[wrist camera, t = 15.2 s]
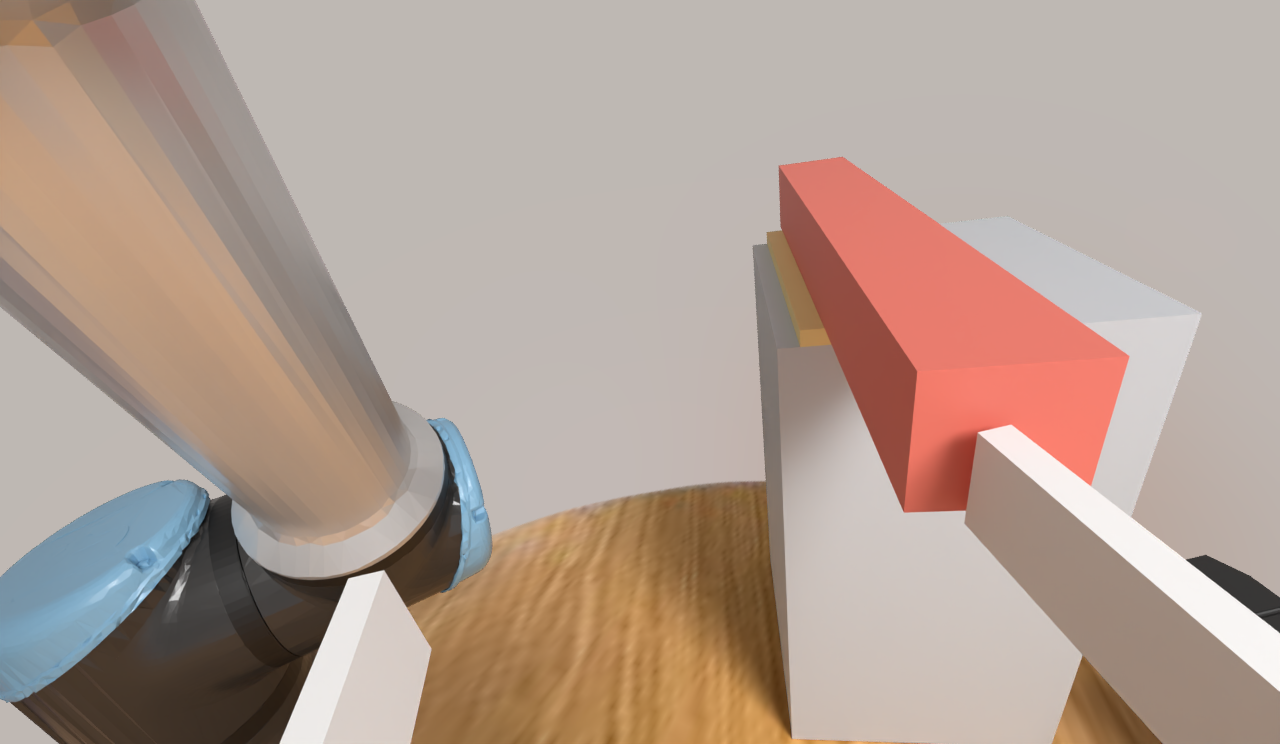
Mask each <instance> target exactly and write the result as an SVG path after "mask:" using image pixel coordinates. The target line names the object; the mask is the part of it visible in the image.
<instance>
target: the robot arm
mask: <svg viewBox="0 0 1280 744" xmlns="http://www.w3.org/2000/svg"><path fill="white" fill-rule="evenodd" d="M0 307H1V308H2V309H4V310H5V311H6V312H7V313H8V314H10V315H11V316H12V317H13V318H14V319H16V320H17V321H18V322H19V323H21V324H22V325H23V326H24V327H25V328H27V329H28V330H29V331H30V332H31V333H32V334H34V335H35V336H36V337H37V338H38V339H40V340H41V341H42V342H43V343H45V344H46V345H47V346H48V347H49V348H51V349H52V350H53V351H54V352H55V353H57V354H58V355H59V356H60V357H61V358H63V359H64V360H65V361H66V362H68V363H69V364H70V365H71V366H72V367H74V368H75V369H76V370H77V371H78V372H80V373H81V374H82V375H83V376H84V377H86V378H87V379H88V380H89V381H90V382H92V383H93V384H94V385H95V386H96V387H98V388H99V389H100V390H101V391H102V392H104V393H105V394H106V395H107V396H108V397H110V398H111V399H112V400H113V401H115V402H116V403H117V404H118V405H119V406H120V407H122V408H123V409H124V410H125V411H127V412H128V413H129V414H130V415H131V416H133V417H134V418H135V419H136V420H137V421H139V422H140V423H141V424H142V425H143V426H145V427H146V428H147V429H148V430H149V431H151V432H152V433H153V434H154V435H155V436H157V437H158V438H159V439H160V440H161V441H163V442H164V443H165V444H166V445H168V446H169V447H170V448H171V449H172V450H174V451H175V452H176V453H177V454H178V455H180V456H181V457H182V458H183V459H185V460H186V461H187V462H188V463H189V464H190V465H192V466H193V467H194V468H195V469H196V470H198V471H199V472H200V473H202V475H204V476H205V477H206V478H207V479H208V480H210V481H211V482H212V483H213V484H215V485H216V486H217V487H218V488H219V489H221V490H222V491H223V492H224V493H226V494H227V495H224V496H222V497H219V498H216V499H212V500H210V498H209V494H208V493H207V491H206V490H205V489H204V488H201V487H199V486H198V485H196V484H195V483H193V482H190V481H188V480H176V481H161V482H157V483H153V484H150V485H147V486H144V487H141V488H138V489H136V490H133V491H131V492H128V493H126V494H124V495H121V496H119V497H117V498H115V499H113V500H111V501H109V502H107V503H105V504H103V505H101V506H99V507H97V508H95V509H93V510H92V511H90V512H88V513H86V514H84V515H83V516H81V517H79V518H78V519H76V520H74V521H73V522H71V523H70V524H68V525H67V526H65V527H63V528H62V529H60V530H59V531H57V532H56V533H54V534H53V535H51V536H50V537H49V538H47V539H46V540H44V541H43V542H42V543H40V544H39V545H38V546H36V547H35V548H33V549H32V550H31V551H30V552H29V553H27V554H26V555H24V556H23V557H22V558H21V559H20V560H19V561H17V562H16V563H15V564H14V565H13V566H12V567H11V568H9V569H8V570H7V571H6V572H5V573H4V574H3V575H2V576H1V577H0V699H2V700H4V701H6V702H10V703H11V704H13V705H14V706H15V707H16V708H18V710H20V711H21V712H22V713H23V714H24V715H26V716H27V717H28V718H29V719H30V720H32V721H33V722H34V723H35V724H36V725H38V726H39V727H40V728H41V729H42V730H43V731H45V732H46V733H47V734H48V735H50V736H51V737H52V738H53V739H54V740H56V742H58V743H59V744H411V740H412V735H413V731H414V726H415V721H416V717H417V712H418V708H419V703H420V699H421V694H422V690H423V685H424V681H425V676H426V672H427V667H428V663H429V658H430V654H431V647H430V646H429V644H428V642H427V641H426V639H425V637H424V636H423V634H422V632H421V631H420V629H419V627H418V626H417V624H416V622H415V621H414V619H413V617H412V616H411V614H410V612H409V611H408V609H407V607H409V606H411V605H413V604H415V603H417V602H420V601H422V600H424V599H426V598H428V597H430V596H432V595H435V594H437V593H439V592H441V593H443V592H446V591H449V590H452V589H453V588H455V587H456V586H457V585H458V583H459V582H461V581H463V580H464V579H466V578H468V577H470V576H472V575H474V574H476V573H478V572H479V571H481V570H482V569H483V568H484V567H485V566H486V565H487V563H488V561H489V559H490V557H491V553H492V535H491V528H490V523H489V518H488V515H487V512H486V509H485V508H484V500H483V494H482V490H481V487H480V483H479V480H478V477H477V474H476V471H475V468H474V465H473V462H472V459H471V457H470V454H469V452H468V449H467V447H466V445H465V442H464V440H463V438H462V436H461V434H460V432H459V430H458V429H457V427H456V426H455V425H454V424H453V422H451V421H449V420H447V419H445V418H439V419H435V420H431V419H428V420H425V418H423V417H422V416H421V415H420V414H418V413H417V412H416V411H414V410H412V409H410V408H409V407H407V406H404V405H402V404H399V403H397V402H393V401H391V399H390V397H389V395H388V393H387V390H386V388H385V386H384V384H383V382H382V380H381V378H380V376H379V374H378V372H377V370H376V368H375V366H374V364H373V362H372V360H371V358H370V356H369V354H368V352H367V350H366V348H365V346H364V344H363V341H362V339H361V338H360V335H359V333H358V332H357V330H356V327H355V326H354V323H353V321H352V319H351V317H350V315H349V313H348V311H347V309H346V307H345V305H344V303H343V301H342V299H341V297H340V295H339V293H338V291H337V289H336V286H335V285H334V283H333V280H332V279H331V276H330V274H329V272H328V270H327V268H326V267H325V264H324V262H323V260H322V258H321V256H320V254H319V252H318V250H317V248H316V246H315V244H314V242H313V240H312V238H311V236H310V234H309V231H308V229H307V227H306V226H305V223H304V221H303V219H302V217H301V215H300V213H299V211H298V209H297V207H296V205H295V203H294V201H293V199H292V197H291V195H290V193H289V191H288V189H287V187H286V185H285V183H284V181H283V179H282V177H281V175H280V172H279V170H278V168H277V166H276V164H275V162H274V160H273V158H272V156H271V154H270V152H269V150H268V148H267V146H266V144H265V142H264V140H263V138H262V136H261V134H260V132H259V130H258V128H257V126H256V124H255V122H254V120H253V117H252V115H251V113H250V111H249V109H248V108H247V105H246V103H245V101H244V99H243V97H242V95H241V93H240V91H239V89H238V87H237V85H236V83H235V81H234V79H233V77H232V75H231V73H230V71H229V69H228V67H227V65H226V62H225V60H224V58H223V56H222V54H221V52H220V50H219V48H218V46H217V44H216V42H215V40H214V38H213V36H212V34H211V32H210V30H209V28H208V26H207V24H206V22H205V20H204V18H203V16H202V14H201V12H200V9H199V8H198V5H197V4H196V1H195V0H0ZM964 524H965V525H966V526H967V527H968V528H969V529H970V530H971V531H972V533H973V534H974V535H975V536H976V537H977V538H978V539H979V540H980V541H981V543H982V544H983V545H984V546H985V547H986V548H987V549H988V550H989V551H990V553H991V554H992V555H993V556H994V557H995V558H996V559H997V560H998V561H999V563H1000V564H1001V565H1002V566H1003V567H1004V568H1005V569H1006V570H1007V571H1008V573H1009V574H1010V575H1011V576H1012V577H1013V578H1014V579H1015V580H1016V581H1017V583H1018V584H1019V585H1020V586H1021V587H1022V588H1023V589H1024V590H1025V591H1026V593H1027V594H1028V595H1029V596H1030V597H1031V598H1032V599H1033V600H1034V601H1035V603H1036V604H1037V605H1038V606H1039V607H1040V608H1041V609H1042V610H1043V611H1044V613H1045V614H1046V615H1047V616H1048V617H1049V618H1050V619H1051V620H1052V621H1053V623H1054V624H1055V625H1056V626H1057V627H1058V628H1059V629H1060V630H1061V631H1062V633H1063V634H1064V635H1065V636H1066V637H1067V638H1068V639H1069V640H1070V641H1071V643H1072V644H1073V645H1074V646H1075V647H1076V648H1077V649H1078V650H1079V651H1080V653H1081V654H1082V655H1083V656H1084V657H1085V658H1086V659H1087V660H1088V661H1089V663H1090V664H1091V665H1092V666H1093V667H1094V668H1095V669H1096V670H1097V671H1098V673H1099V674H1100V675H1101V676H1102V677H1103V678H1104V679H1105V680H1106V681H1107V683H1108V684H1109V685H1110V686H1111V687H1112V688H1113V689H1114V690H1115V691H1116V693H1117V694H1118V695H1119V696H1120V697H1121V698H1122V699H1123V700H1124V701H1125V703H1126V704H1127V705H1128V706H1129V707H1130V708H1131V709H1132V710H1133V711H1134V713H1135V714H1136V715H1137V716H1138V717H1139V718H1140V719H1141V720H1142V721H1143V723H1144V724H1145V725H1146V726H1147V727H1148V728H1149V729H1150V730H1151V731H1152V733H1153V734H1154V735H1155V736H1156V737H1157V738H1158V739H1159V740H1160V741H1161V743H1162V744H1280V597H1278V596H1277V595H1275V594H1274V593H1273V592H1271V591H1270V590H1269V589H1267V588H1266V587H1264V586H1263V585H1262V584H1260V583H1259V582H1258V581H1256V580H1255V579H1253V578H1252V577H1251V576H1249V575H1247V574H1245V573H1243V572H1241V571H1238V570H1236V569H1234V568H1232V567H1230V566H1228V565H1226V564H1224V563H1221V562H1219V561H1218V560H1215V559H1213V558H1211V557H1209V556H1207V555H1204V556H1199V557H1195V558H1192V559H1187V560H1185V559H1184V558H1182V557H1181V556H1180V555H1179V554H1177V553H1176V552H1175V551H1173V550H1172V549H1171V548H1169V547H1168V546H1167V545H1166V544H1164V543H1163V542H1162V541H1161V540H1159V539H1158V538H1157V537H1155V536H1154V535H1153V534H1151V533H1150V532H1149V531H1147V530H1146V529H1145V528H1144V527H1143V526H1141V525H1140V524H1139V523H1137V522H1136V521H1135V520H1134V519H1132V518H1131V517H1130V516H1128V515H1127V514H1126V513H1125V512H1123V511H1122V510H1121V509H1119V508H1118V507H1117V506H1116V505H1114V504H1113V503H1112V502H1110V501H1109V500H1108V499H1107V498H1105V497H1104V496H1103V495H1101V494H1100V493H1099V492H1098V491H1096V490H1095V489H1094V488H1092V487H1091V486H1090V485H1089V484H1087V483H1086V482H1085V481H1083V480H1082V479H1081V478H1080V477H1078V476H1077V475H1076V474H1074V473H1073V472H1072V471H1070V470H1069V469H1068V468H1067V467H1065V466H1064V465H1063V464H1061V463H1060V462H1059V461H1058V460H1056V459H1055V458H1054V457H1052V456H1051V455H1050V454H1049V453H1047V452H1046V451H1045V450H1043V449H1042V448H1041V447H1040V446H1038V445H1037V444H1036V443H1034V442H1033V441H1032V440H1031V439H1029V438H1028V437H1027V436H1025V435H1024V434H1023V433H1022V432H1020V431H1019V430H1018V429H1016V428H1015V427H1014V426H1013V425H1007V426H1003V427H999V428H994V429H990V430H986V431H982V432H978V434H977V440H976V447H975V454H974V461H973V467H972V474H971V481H970V488H969V495H968V501H967V508H966V515H965V522H964Z"/></svg>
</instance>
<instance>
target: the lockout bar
mask: <svg viewBox="0 0 1280 744" xmlns="http://www.w3.org/2000/svg"><path fill="white" fill-rule="evenodd" d="M779 187H780V221H781V228H782V231H783V233H784V235H785V238H786V240H787V242H788V245H789V247H790V249H791V252H792V254H793V256H794V259H795V261H796V263H797V266H798V268H799V270H800V273H801V275H802V277H803V280H804V282H805V284H806V287H807V289H808V291H809V294H810V296H811V298H812V301H813V303H814V305H815V308H816V310H817V312H818V314H819V317H820V319H821V321H822V324H823V326H824V328H825V331H826V333H827V335H828V338H829V340H830V342H831V345H832V347H833V349H834V352H835V354H836V356H837V359H838V361H839V363H840V366H841V368H842V370H843V373H844V375H845V377H846V380H847V382H848V384H849V387H850V389H851V391H852V393H853V396H854V398H855V400H856V403H857V405H858V407H859V410H860V412H861V414H862V417H863V419H864V421H865V424H866V426H867V428H868V431H869V433H870V435H871V438H872V440H873V442H874V445H875V447H876V449H877V452H878V454H879V456H880V459H881V461H882V463H883V466H884V468H885V470H886V473H887V475H888V477H889V479H890V482H891V484H892V486H893V489H894V491H895V493H896V496H897V498H898V500H899V503H900V505H901V507H902V510H903V512H904V513H909V512H941V511H966V508H967V501H968V495H969V488H970V481H971V474H972V467H973V461H974V454H975V447H976V440H977V434H978V432H982V431H986V430H990V429H994V428H999V427H1003V426H1007V425H1013V426H1014V427H1015V428H1016V429H1018V430H1019V431H1020V432H1022V433H1023V434H1024V435H1025V436H1027V437H1028V438H1029V439H1031V440H1032V441H1033V442H1034V443H1036V444H1037V445H1038V446H1040V447H1041V448H1042V449H1043V450H1045V451H1046V452H1047V453H1049V454H1050V455H1051V456H1052V457H1054V458H1055V459H1056V460H1058V461H1059V462H1060V463H1061V464H1063V465H1064V466H1065V467H1067V468H1068V469H1069V470H1070V471H1072V472H1073V473H1074V474H1076V475H1077V476H1078V477H1080V478H1081V479H1082V480H1083V481H1085V482H1086V483H1087V484H1089V485H1090V486H1091V485H1092V481H1093V478H1094V475H1095V471H1096V468H1097V464H1098V461H1099V458H1100V454H1101V451H1102V448H1103V444H1104V441H1105V438H1106V434H1107V431H1108V427H1109V424H1110V421H1111V417H1112V414H1113V411H1114V407H1115V404H1116V401H1117V397H1118V394H1119V390H1120V387H1121V384H1122V380H1123V377H1124V374H1125V370H1126V367H1127V364H1128V360H1129V357H1130V356H1129V355H1127V354H1126V353H1125V352H1123V351H1122V350H1120V349H1119V348H1117V347H1116V346H1114V345H1113V344H1112V343H1110V342H1109V341H1107V340H1106V339H1104V338H1103V337H1101V336H1100V335H1099V334H1097V333H1096V332H1094V331H1093V330H1091V329H1090V328H1088V327H1087V326H1086V325H1084V324H1083V323H1081V322H1080V321H1078V320H1077V319H1076V318H1074V317H1073V316H1071V315H1070V314H1068V313H1067V312H1065V311H1064V310H1063V309H1061V308H1060V307H1058V306H1057V305H1055V304H1054V303H1052V302H1051V301H1050V300H1048V299H1047V298H1045V297H1044V296H1042V295H1041V294H1039V293H1038V292H1037V291H1035V290H1034V289H1032V288H1031V287H1029V286H1028V285H1026V284H1025V283H1024V282H1022V281H1021V280H1019V279H1018V278H1016V277H1015V276H1014V275H1012V274H1011V273H1009V272H1008V271H1006V270H1005V269H1003V268H1002V267H1001V266H999V265H998V264H996V263H995V262H993V261H992V260H990V259H989V258H988V257H986V256H985V255H983V254H982V253H980V252H979V251H977V250H976V249H975V248H973V247H972V246H970V245H969V244H967V243H966V242H965V241H963V240H962V239H960V238H959V237H957V236H956V235H954V234H953V233H952V232H950V231H949V230H947V229H946V228H944V227H943V226H941V225H940V224H938V223H937V222H936V221H934V220H933V219H931V218H930V217H928V216H927V215H926V214H924V213H923V212H921V211H920V210H918V209H917V208H915V207H914V206H912V205H911V204H910V203H908V202H907V201H905V200H904V199H902V198H901V197H900V196H898V195H897V194H895V193H894V192H892V191H891V190H890V189H888V188H887V187H885V186H884V185H882V184H881V183H879V182H878V181H877V180H875V179H874V178H872V177H871V176H869V175H868V174H866V173H865V172H864V171H862V170H861V169H859V168H857V167H856V166H855V165H853V164H852V163H851V162H849V161H848V160H846V159H845V158H843V157H838V158H831V159H824V160H817V161H810V162H802V163H795V164H788V165H780V166H779Z"/></svg>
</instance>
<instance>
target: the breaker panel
mask: <svg viewBox="0 0 1280 744" xmlns="http://www.w3.org/2000/svg"><path fill="white" fill-rule="evenodd" d="M940 225H941V226H943V227H944V228H946V229H947V230H949V231H950V232H952V233H953V234H954V235H956V236H957V237H959V238H960V239H962V240H963V241H965V242H966V243H967V244H969V245H970V246H972V247H973V248H975V249H976V250H977V251H979V252H980V253H982V254H983V255H985V256H986V257H988V258H989V259H990V260H992V261H993V262H995V263H996V264H998V265H999V266H1001V267H1002V268H1003V269H1005V270H1006V271H1008V272H1009V273H1011V274H1012V275H1014V276H1015V277H1016V278H1018V279H1019V280H1021V281H1022V282H1024V283H1025V284H1026V285H1028V286H1029V287H1031V288H1032V289H1034V290H1035V291H1037V292H1038V293H1039V294H1041V295H1042V296H1044V297H1045V298H1047V299H1048V300H1050V301H1051V302H1052V303H1054V304H1055V305H1057V306H1058V307H1060V308H1061V309H1063V310H1064V311H1065V312H1067V313H1068V314H1070V315H1071V316H1073V317H1074V318H1076V319H1077V320H1078V321H1080V322H1081V323H1083V324H1084V325H1086V326H1087V327H1088V328H1090V329H1091V330H1093V331H1094V332H1096V333H1097V334H1099V335H1100V336H1101V337H1103V338H1104V339H1106V340H1107V341H1109V342H1110V343H1112V344H1113V345H1114V346H1116V347H1117V348H1119V349H1120V350H1122V351H1123V352H1125V353H1126V354H1127V355H1129V356H1130V357H1129V360H1128V364H1127V367H1126V370H1125V374H1124V377H1123V380H1122V384H1121V387H1120V390H1119V394H1118V397H1117V401H1116V404H1115V407H1114V411H1113V414H1112V417H1111V421H1110V424H1109V427H1108V431H1107V434H1106V438H1105V441H1104V444H1103V448H1102V451H1101V454H1100V458H1099V461H1098V464H1097V468H1096V471H1095V475H1094V478H1093V481H1092V485H1091V487H1092V488H1094V489H1095V490H1096V491H1098V492H1099V493H1100V494H1101V495H1103V496H1104V497H1105V498H1107V499H1108V500H1109V501H1110V502H1112V503H1113V504H1114V505H1116V506H1117V507H1118V508H1119V509H1121V510H1122V511H1123V512H1125V513H1126V514H1127V515H1128V516H1130V517H1131V516H1132V513H1133V509H1134V507H1135V504H1136V502H1137V499H1138V496H1139V493H1140V490H1141V487H1142V484H1143V482H1144V479H1145V476H1146V473H1147V470H1148V467H1149V464H1150V462H1151V459H1152V456H1153V453H1154V450H1155V447H1156V444H1157V442H1158V439H1159V436H1160V433H1161V430H1162V427H1163V424H1164V422H1165V418H1166V416H1167V413H1168V410H1169V407H1170V404H1171V401H1172V398H1173V396H1174V393H1175V390H1176V387H1177V384H1178V382H1179V378H1180V376H1181V373H1182V370H1183V367H1184V364H1185V362H1186V359H1187V356H1188V353H1189V350H1190V347H1191V344H1192V342H1193V339H1194V336H1195V333H1196V330H1197V327H1198V324H1199V322H1200V319H1201V316H1202V313H1200V312H1198V311H1196V310H1194V309H1192V308H1190V307H1188V306H1186V305H1184V304H1182V303H1180V302H1178V301H1176V300H1174V299H1172V298H1170V297H1168V296H1166V295H1164V294H1162V293H1160V292H1158V291H1156V290H1154V289H1152V288H1150V287H1149V286H1147V285H1145V284H1143V283H1141V282H1138V281H1136V280H1134V279H1133V278H1131V277H1128V276H1126V275H1124V274H1122V273H1121V272H1119V271H1117V270H1115V269H1112V268H1110V267H1109V266H1106V265H1105V264H1102V263H1101V262H1099V261H1096V260H1094V259H1093V258H1090V257H1088V256H1087V255H1084V254H1082V253H1081V252H1079V251H1077V250H1075V249H1072V248H1070V247H1069V246H1066V245H1065V244H1063V243H1061V242H1059V241H1057V240H1055V239H1052V238H1050V237H1049V236H1046V235H1045V234H1043V233H1041V232H1038V231H1037V230H1035V229H1033V228H1031V227H1029V226H1026V225H1025V224H1022V223H1021V222H1018V221H1017V220H1015V219H1013V218H1010V217H1009V216H1004V217H997V218H987V219H978V220H970V221H961V222H953V223H944V224H940ZM753 258H754V276H755V294H756V310H757V311H756V312H757V330H758V348H759V366H760V384H761V401H762V419H763V437H764V453H765V472H766V491H767V509H768V526H769V544H770V560H771V568H772V577H773V585H774V593H775V601H776V610H777V618H778V626H779V635H780V643H781V651H782V659H783V668H784V676H785V684H786V692H787V701H788V709H789V717H790V725H791V734H792V739H811V740H840V741H870V742H900V743H930V744H1052V741H1053V739H1054V736H1055V733H1056V730H1057V727H1058V724H1059V721H1060V719H1061V716H1062V713H1063V710H1064V707H1065V704H1066V701H1067V699H1068V696H1069V693H1070V690H1071V687H1072V684H1073V681H1074V679H1075V676H1076V673H1077V670H1078V667H1079V664H1080V661H1081V659H1082V656H1083V655H1082V654H1081V653H1080V651H1079V650H1078V649H1077V648H1076V647H1075V646H1074V645H1073V644H1072V643H1071V641H1070V640H1069V639H1068V638H1067V637H1066V636H1065V635H1064V634H1063V633H1062V631H1061V630H1060V629H1059V628H1058V627H1057V626H1056V625H1055V624H1054V623H1053V621H1052V620H1051V619H1050V618H1049V617H1048V616H1047V615H1046V614H1045V613H1044V611H1043V610H1042V609H1041V608H1040V607H1039V606H1038V605H1037V604H1036V603H1035V601H1034V600H1033V599H1032V598H1031V597H1030V596H1029V595H1028V594H1027V593H1026V591H1025V590H1024V589H1023V588H1022V587H1021V586H1020V585H1019V584H1018V583H1017V581H1016V580H1015V579H1014V578H1013V577H1012V576H1011V575H1010V574H1009V573H1008V571H1007V570H1006V569H1005V568H1004V567H1003V566H1002V565H1001V564H1000V563H999V561H998V560H997V559H996V558H995V557H994V556H993V555H992V554H991V553H990V551H989V550H988V549H987V548H986V547H985V546H984V545H983V544H982V543H981V541H980V540H979V539H978V538H977V537H976V536H975V535H974V534H973V533H972V531H971V530H970V529H969V528H968V527H967V526H966V525H965V524H964V522H965V515H966V511H941V512H909V513H904V512H903V510H902V507H901V505H900V503H899V500H898V498H897V496H896V493H895V491H894V489H893V486H892V484H891V482H890V479H889V477H888V475H887V473H886V470H885V468H884V466H883V463H882V461H881V459H880V456H879V454H878V452H877V449H876V447H875V445H874V442H873V440H872V438H871V435H870V433H869V431H868V428H867V426H866V424H865V421H864V419H863V417H862V414H861V412H860V410H859V407H858V405H857V403H856V400H855V398H854V396H853V393H852V391H851V389H850V387H849V384H848V382H847V380H846V377H845V375H844V373H843V370H842V368H841V366H840V363H839V361H838V359H837V356H836V354H835V352H834V349H833V347H832V345H821V346H809V347H800V345H799V342H798V339H797V336H796V332H795V329H794V326H793V323H792V320H791V317H790V314H789V311H788V307H787V304H786V301H785V298H784V295H783V292H782V289H781V286H780V282H779V279H778V276H777V273H776V270H775V267H774V264H773V260H772V257H771V254H770V251H769V248H768V245H767V244H762V245H754V246H753Z"/></svg>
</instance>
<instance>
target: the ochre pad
mask: <svg viewBox="0 0 1280 744" xmlns="http://www.w3.org/2000/svg"><path fill="white" fill-rule="evenodd" d="M767 245H768V248H769V251H770V254H771V257H772V260H773V264H774V267H775V270H776V273H777V276H778V279H779V282H780V286H781V289H782V292H783V295H784V298H785V301H786V304H787V307H788V311H789V314H790V317H791V320H792V323H793V326H794V329H795V332H796V336H797V339H798V342H799V345H800V347H809V346H821V345H831V342H830V340H829V338H828V335H827V333H826V331H825V328H824V326H823V324H822V321H821V319H820V317H819V314H818V312H817V310H816V308H815V305H814V303H813V301H812V298H811V296H810V294H809V291H808V289H807V287H806V284H805V282H804V280H803V277H802V275H801V273H800V270H799V268H798V266H797V263H796V261H795V259H794V256H793V254H792V252H791V249H790V247H789V245H788V242H787V240H786V238H785V235H784V233H783V231H774V232H767Z"/></svg>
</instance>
